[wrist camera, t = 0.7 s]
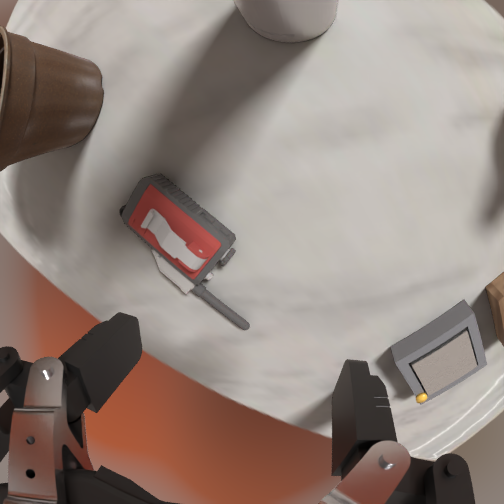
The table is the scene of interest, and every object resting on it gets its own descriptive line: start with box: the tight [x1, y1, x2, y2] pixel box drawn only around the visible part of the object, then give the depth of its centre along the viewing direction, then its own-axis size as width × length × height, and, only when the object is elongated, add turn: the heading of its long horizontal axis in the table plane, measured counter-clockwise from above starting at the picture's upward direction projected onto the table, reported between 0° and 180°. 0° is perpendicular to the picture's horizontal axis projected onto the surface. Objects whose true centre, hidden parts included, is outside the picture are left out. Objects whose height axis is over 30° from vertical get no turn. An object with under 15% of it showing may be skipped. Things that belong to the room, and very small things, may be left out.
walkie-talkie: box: [120, 174, 250, 330], centre depth 29 cm, size 9×4×20 cm
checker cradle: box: [391, 300, 487, 405], centre depth 27 cm, size 11×11×4 cm
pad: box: [411, 328, 477, 396], centre depth 27 cm, size 8×8×2 cm
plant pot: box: [0, 26, 104, 171], centre depth 19 cm, size 16×16×16 cm
